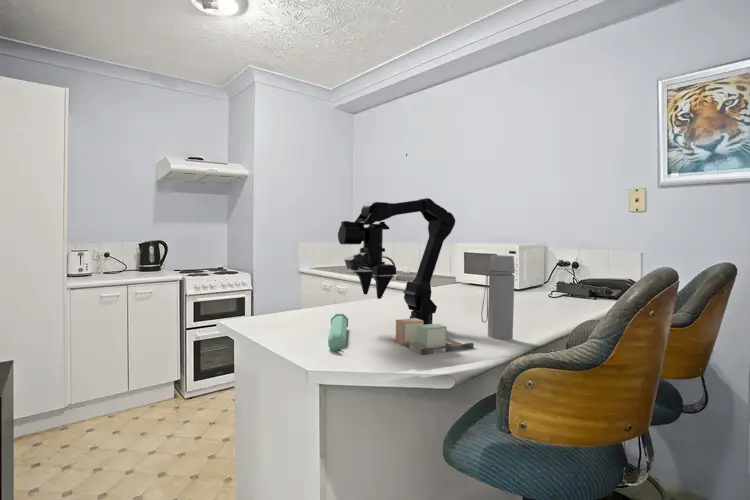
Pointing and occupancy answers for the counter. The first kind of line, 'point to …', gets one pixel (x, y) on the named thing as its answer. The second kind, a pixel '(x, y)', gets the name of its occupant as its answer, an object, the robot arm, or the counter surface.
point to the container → (338, 332)
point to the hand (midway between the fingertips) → (372, 296)
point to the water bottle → (500, 297)
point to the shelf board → (450, 346)
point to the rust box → (407, 330)
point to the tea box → (431, 335)
